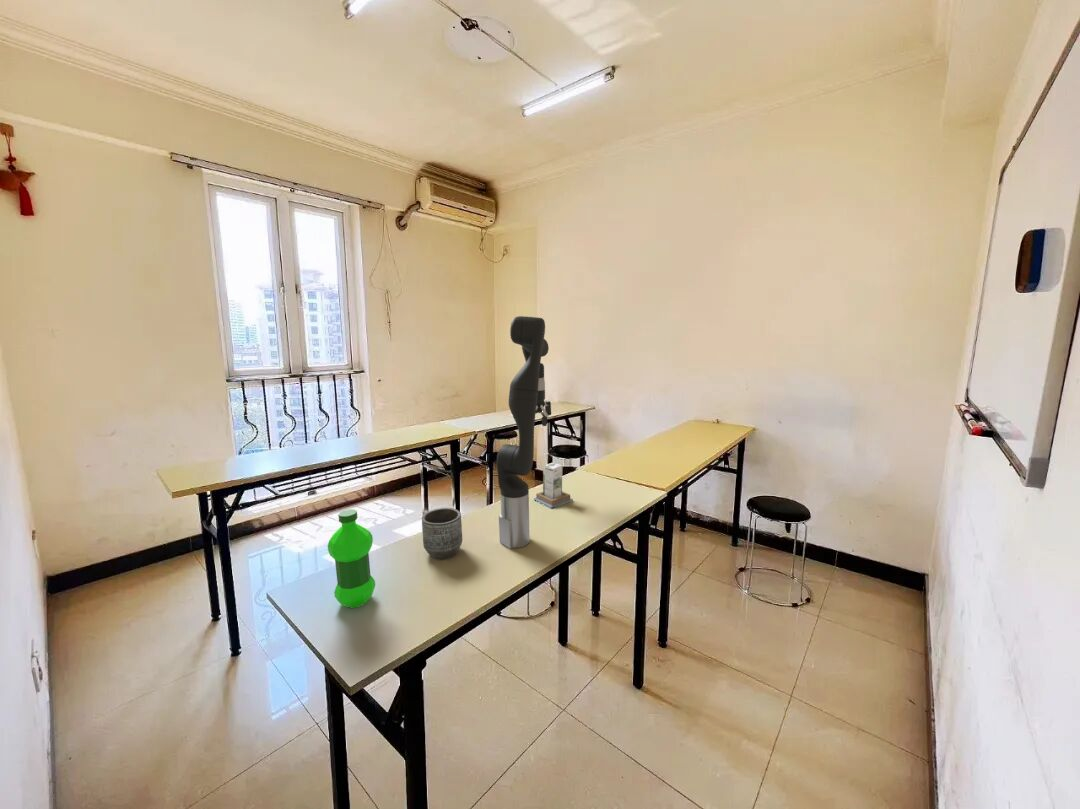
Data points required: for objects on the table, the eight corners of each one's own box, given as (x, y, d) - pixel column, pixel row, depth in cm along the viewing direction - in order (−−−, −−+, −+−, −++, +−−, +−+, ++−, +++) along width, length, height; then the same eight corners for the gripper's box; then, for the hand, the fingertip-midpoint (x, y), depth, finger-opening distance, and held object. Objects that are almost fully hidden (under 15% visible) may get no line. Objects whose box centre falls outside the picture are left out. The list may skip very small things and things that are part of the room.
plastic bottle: (366, 585, 119) (358, 501, 115) (384, 601, 112) (376, 512, 108) (329, 602, 112) (319, 513, 108) (345, 620, 105) (335, 525, 100)
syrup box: (551, 494, 180) (551, 462, 178) (562, 498, 176) (562, 464, 174) (542, 498, 176) (542, 465, 174) (553, 502, 172) (553, 468, 170)
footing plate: (550, 508, 168) (550, 502, 168) (533, 500, 177) (533, 493, 176) (572, 500, 176) (572, 494, 175) (555, 493, 184) (555, 487, 184)
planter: (428, 567, 128) (426, 527, 126) (420, 549, 139) (417, 512, 136) (467, 557, 133) (466, 518, 131) (456, 540, 144) (455, 504, 142)
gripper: (527, 391, 166) (528, 431, 169) (555, 387, 175) (555, 426, 177) (516, 389, 172) (517, 428, 174) (543, 386, 180) (543, 423, 183)
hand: (536, 427), depth 176 cm, fingers open, 8 cm apart
